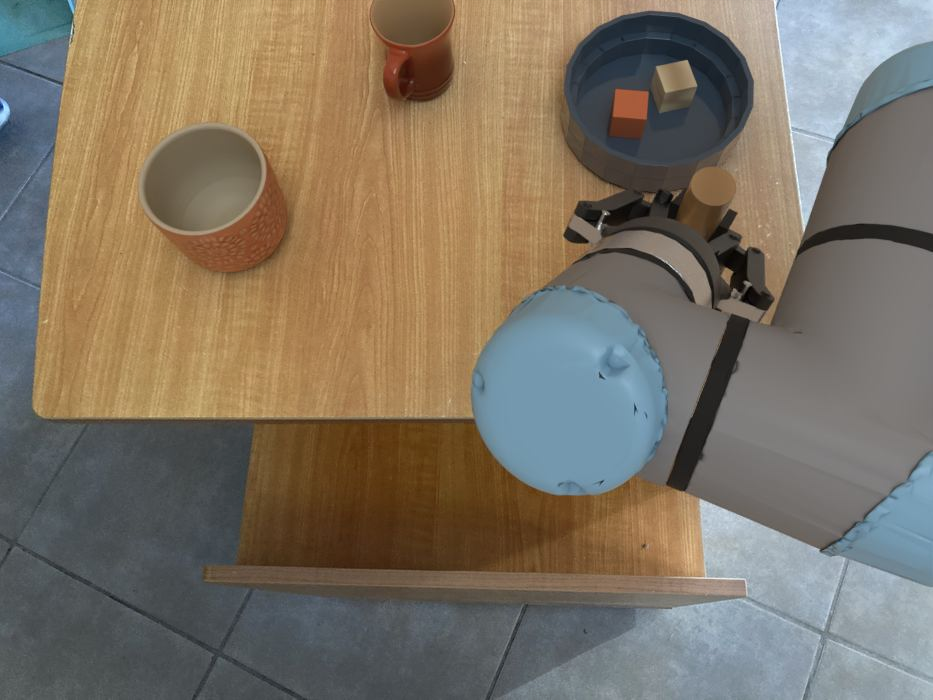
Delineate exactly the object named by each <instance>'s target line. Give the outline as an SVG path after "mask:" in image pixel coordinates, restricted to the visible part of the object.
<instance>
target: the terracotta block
mask: <svg viewBox="0 0 933 700" xmlns="http://www.w3.org/2000/svg"><path fill="white" fill-rule="evenodd" d="M648 95H649V92H645V91H634V90H622V89H615V93H614V98H613V102H612V107H611V114H610V125H609V136H612V137H623V138H634V139H641V137H642V134H643V130H644V127H645V123H646V120H647V109H648Z"/></svg>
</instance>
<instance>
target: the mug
mask: <svg viewBox="0 0 933 700" xmlns="http://www.w3.org/2000/svg"><path fill="white" fill-rule="evenodd" d="M368 17H369V23H370V26H371V28H372V30H373V32H374V33H375V35H376V36H377V38H378V39H379V41H380V42H381V44H382V48H383V49H382V50H383V55H384V62H385V64H384V67H383V72H382V83H383V89H384V91H385V94H386V96H387V97H388V98H389V99H390V100H392V101H397V102H403V101H405V100H406V99H407V100H410V101H414V102H415V101H416V102H425V101H429V100H433V99H435V98H438V97H439V96H441V95H442V94H444V93H445V91H447V90H448V88H449V86H450V84H451V83H452V80H453V75H454V67H455V60H454V59H455V58H454V54H453V45H452V38H451V31H452V28H453V25H454V22H455V17H456V5H455V1H454V0H372V2H371V4H370V8H369V16H368Z"/></svg>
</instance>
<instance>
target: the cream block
mask: <svg viewBox="0 0 933 700" xmlns="http://www.w3.org/2000/svg"><path fill="white" fill-rule="evenodd" d="M650 89H651V92H652V95H653V98H654V100H655V103H656V106H657V109H658V112H659V113H663V112H668V111H673V110H677V109H682V108H687V107H690V105H691V103H692V100H693V97H694V94H695V92H696V89H697V84H696V81H695V78H694V76H693V73H692V70H691V68H690V65H689V63H688V60H684V61H680V62H675V63H670V64H665V65H660V66H656V68H655V71H654V75H653V79H652V82H651V86H650Z"/></svg>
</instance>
